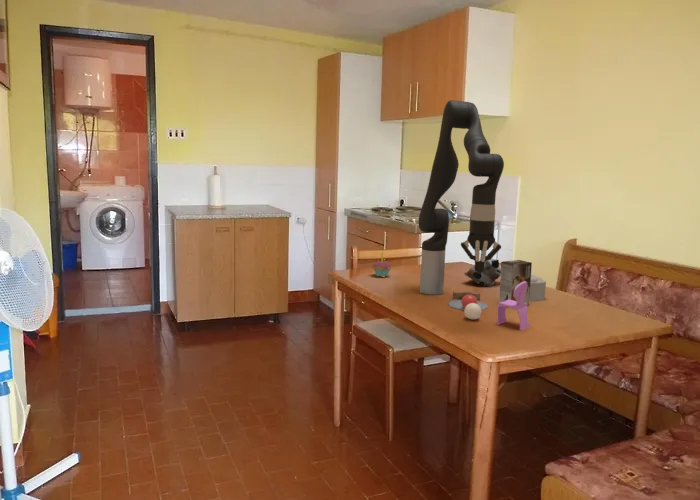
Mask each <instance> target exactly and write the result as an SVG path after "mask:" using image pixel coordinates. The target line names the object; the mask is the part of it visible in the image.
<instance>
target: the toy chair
mask: <svg viewBox="0 0 700 500" xmlns="http://www.w3.org/2000/svg"><path fill="white" fill-rule="evenodd" d="M527 287H528V284H527V282H526V281H524V282H521V283H520V284H518V285H517V286H516V287H515V289H514V294H513V297H515V298H516V299H517V301H513V300H509V299H508V300H506V301H503V302H500V303H499V302H498V305H497V308H496V311H497V312H496V314H497V315H496V316H497V318H496V325H497V326H498V325H501V324H503V323H506V322H508V319H507V316H506V308H509V309H512V310H516V312H517V314H518V318H519V331H523V330H525V329H528V328H530V323H529V320H528V310H529V309H528V305H527V303H524V298H525V293H526V290H527Z"/></svg>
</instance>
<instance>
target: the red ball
mask: <svg viewBox="0 0 700 500" xmlns="http://www.w3.org/2000/svg"><path fill="white" fill-rule="evenodd" d="M460 300H461V299H460ZM477 301H478V300H477V299H476V297H475V296H473V295H471V294H468V295H465V296H464V297H463V298H462V300H461V304H462V306H463V307H464V308H465V307H466V306H467V305H468V304H470V303H476V304H477Z"/></svg>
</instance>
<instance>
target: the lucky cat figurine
mask: <svg viewBox="0 0 700 500" xmlns="http://www.w3.org/2000/svg"><path fill="white" fill-rule="evenodd" d="M499 260H500V259H495V258H491V259H490V260H487V261H485V262H484V271H483V272H482V273H477V272H476V271H475V269H474V268H475V265H474V266H472V267H470V268H469V269H468V271H467V272H464V273H463V275H465V276H466V277H468V278H469V279H471V280H472V282H474V283H476V284H478V285H481V286H482V288H483V287H484V288H486V287H493V286H494V284H495V281H496V280H498V279H499V278H501V264H502V262H503V261H499Z"/></svg>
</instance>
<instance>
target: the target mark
mask: <svg viewBox="0 0 700 500" xmlns="http://www.w3.org/2000/svg"><path fill="white" fill-rule="evenodd" d="M477 304H478V305H479V306H480V308H481V311H483V310H486V309H488V304H486V303H484V302H481V301H479V300H477ZM447 305H448V306H449V307H450V308H452V309H455V310H460V311H464V310H465V308H464V307H463V306H462V304H461V299H453V300H451V301H449V302H448V303H447Z"/></svg>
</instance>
